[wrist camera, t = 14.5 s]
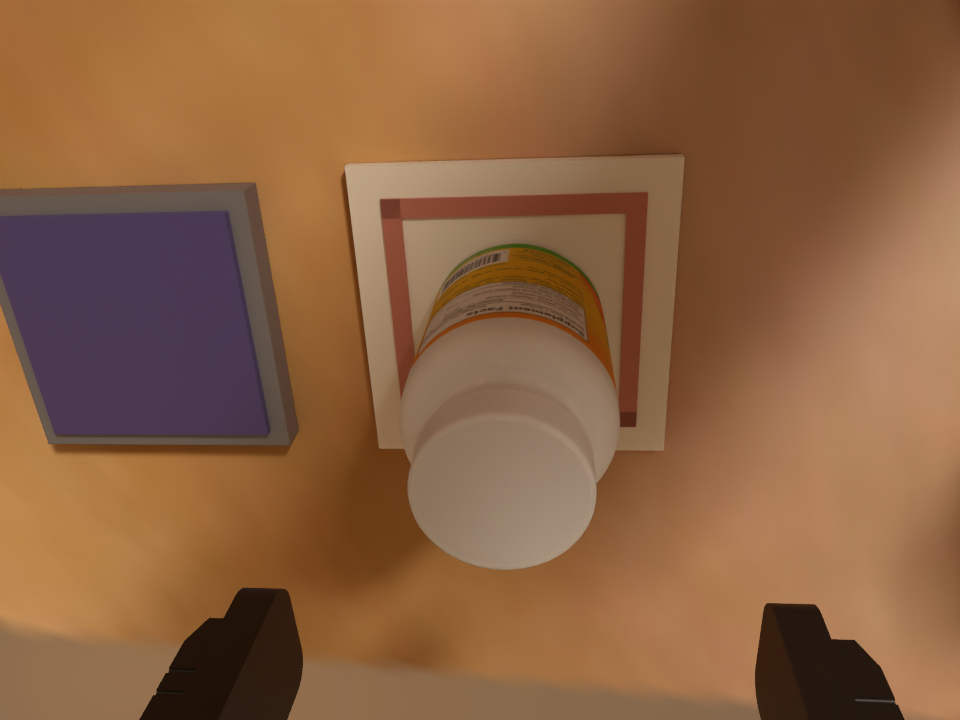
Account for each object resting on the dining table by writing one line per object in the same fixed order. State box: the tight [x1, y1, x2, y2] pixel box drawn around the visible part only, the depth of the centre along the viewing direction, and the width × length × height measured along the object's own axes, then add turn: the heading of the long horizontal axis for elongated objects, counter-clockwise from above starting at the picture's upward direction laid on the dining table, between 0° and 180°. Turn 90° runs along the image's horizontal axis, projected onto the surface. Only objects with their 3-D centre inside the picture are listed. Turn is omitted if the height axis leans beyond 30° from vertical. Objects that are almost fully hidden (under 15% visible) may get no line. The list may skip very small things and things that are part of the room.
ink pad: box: [0, 183, 299, 445], centre depth 25 cm, size 9×9×1 cm
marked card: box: [345, 154, 685, 451], centre depth 25 cm, size 10×10×1 cm
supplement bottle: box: [399, 241, 620, 570], centre depth 20 cm, size 5×5×10 cm
